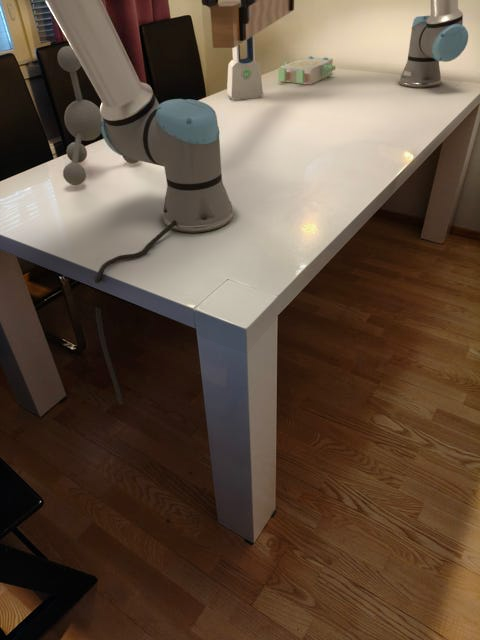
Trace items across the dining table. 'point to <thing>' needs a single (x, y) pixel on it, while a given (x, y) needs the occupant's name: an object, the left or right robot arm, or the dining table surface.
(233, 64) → the electronic device
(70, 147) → the molecular model
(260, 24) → the post
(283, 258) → the dining table surface
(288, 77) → the decorative block
